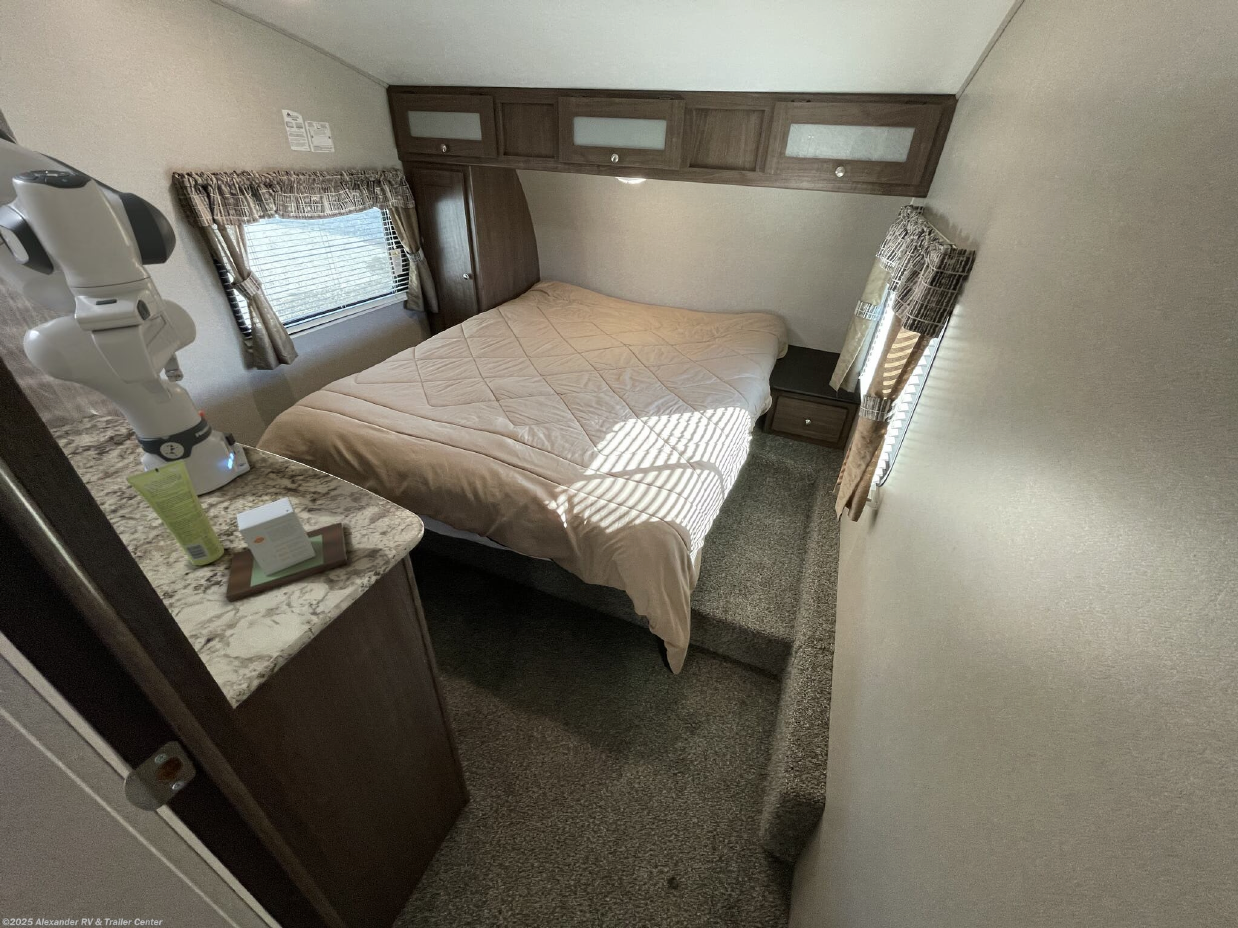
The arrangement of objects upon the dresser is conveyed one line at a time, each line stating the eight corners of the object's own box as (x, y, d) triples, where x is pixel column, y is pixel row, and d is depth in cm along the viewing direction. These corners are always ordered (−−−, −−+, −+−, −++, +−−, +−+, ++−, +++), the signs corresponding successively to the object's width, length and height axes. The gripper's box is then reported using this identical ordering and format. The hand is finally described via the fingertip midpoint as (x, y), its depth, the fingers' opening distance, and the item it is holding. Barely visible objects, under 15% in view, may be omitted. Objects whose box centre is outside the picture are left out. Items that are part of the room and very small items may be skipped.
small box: (310, 540, 92) (289, 495, 86) (316, 556, 88) (294, 510, 82) (260, 559, 87) (235, 513, 82) (265, 577, 84) (238, 530, 78)
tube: (206, 546, 93) (152, 459, 82) (233, 545, 93) (182, 458, 83) (185, 567, 88) (124, 477, 78) (213, 566, 88) (156, 476, 78)
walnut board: (235, 558, 90) (232, 553, 89) (343, 526, 97) (341, 521, 96) (228, 602, 81) (225, 596, 80) (347, 563, 88) (345, 558, 87)
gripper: (115, 290, 77) (161, 373, 84) (69, 322, 62) (130, 419, 69) (164, 285, 79) (205, 365, 87) (132, 314, 64) (185, 409, 72)
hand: (171, 390), depth 78 cm, fingers open, 8 cm apart
